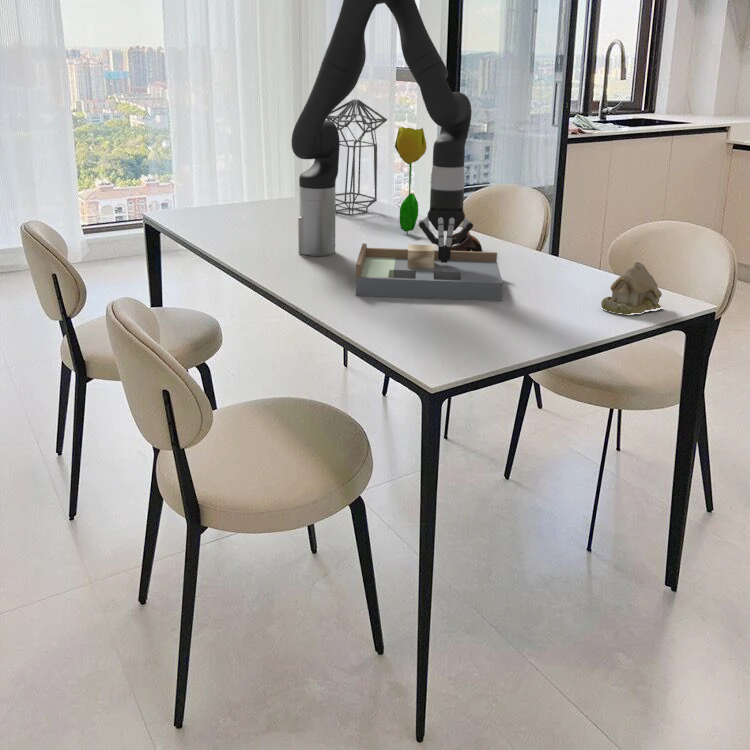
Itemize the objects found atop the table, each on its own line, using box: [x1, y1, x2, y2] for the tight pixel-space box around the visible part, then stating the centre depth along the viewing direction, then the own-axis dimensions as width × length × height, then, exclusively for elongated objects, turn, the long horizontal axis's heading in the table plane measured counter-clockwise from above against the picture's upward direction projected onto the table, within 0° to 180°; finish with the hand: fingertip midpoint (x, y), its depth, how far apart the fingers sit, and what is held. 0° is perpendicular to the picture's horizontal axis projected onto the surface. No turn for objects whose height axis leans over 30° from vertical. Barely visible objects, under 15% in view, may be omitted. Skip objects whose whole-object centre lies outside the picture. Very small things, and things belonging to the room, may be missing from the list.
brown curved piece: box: [444, 231, 484, 252], centre depth 218 cm, size 12×10×8 cm
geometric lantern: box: [326, 98, 388, 216], centre depth 265 cm, size 16×16×35 cm
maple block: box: [407, 243, 435, 268], centre depth 195 cm, size 6×6×4 cm
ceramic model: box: [600, 261, 663, 314], centre depth 179 cm, size 14×11×10 cm
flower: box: [394, 126, 427, 235], centre depth 238 cm, size 9×8×30 cm
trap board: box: [355, 243, 504, 302], centre depth 192 cm, size 32×20×7 cm, turn 87°
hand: (444, 261), depth 195 cm, fingers closed
